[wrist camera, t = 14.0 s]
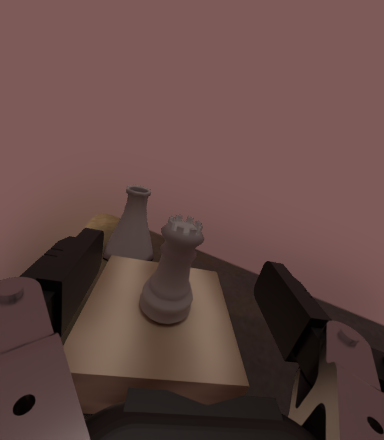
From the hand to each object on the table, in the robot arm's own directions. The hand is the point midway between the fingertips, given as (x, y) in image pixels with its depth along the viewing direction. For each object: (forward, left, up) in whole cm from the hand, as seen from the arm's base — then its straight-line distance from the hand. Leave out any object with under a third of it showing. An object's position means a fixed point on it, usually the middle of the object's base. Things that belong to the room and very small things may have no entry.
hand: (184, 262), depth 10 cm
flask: (+5, -18, -12) cm, 23 cm away
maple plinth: (0, -5, -12) cm, 13 cm away
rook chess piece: (0, -5, -8) cm, 10 cm away
